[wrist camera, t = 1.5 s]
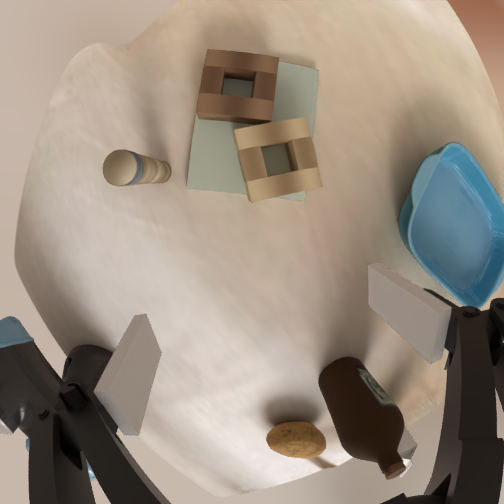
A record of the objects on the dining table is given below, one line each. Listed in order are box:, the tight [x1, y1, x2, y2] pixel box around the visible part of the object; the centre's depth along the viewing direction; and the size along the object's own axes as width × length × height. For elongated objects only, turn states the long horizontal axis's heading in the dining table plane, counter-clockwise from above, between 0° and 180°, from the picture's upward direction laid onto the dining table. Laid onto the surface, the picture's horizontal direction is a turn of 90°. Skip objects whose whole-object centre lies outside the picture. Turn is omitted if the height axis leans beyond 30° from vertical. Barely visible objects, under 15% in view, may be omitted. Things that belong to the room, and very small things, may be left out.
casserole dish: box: [399, 142, 504, 309], centre depth 39 cm, size 37×22×7 cm, turn 59°
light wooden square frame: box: [233, 117, 322, 203], centre depth 33 cm, size 9×9×4 cm
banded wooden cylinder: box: [103, 150, 171, 186], centre depth 27 cm, size 3×3×16 cm
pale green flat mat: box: [187, 61, 319, 202], centre depth 34 cm, size 16×20×1 cm
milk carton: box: [398, 425, 417, 477], centre depth 44 cm, size 7×7×19 cm
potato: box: [266, 421, 326, 458], centre depth 46 cm, size 10×14×8 cm
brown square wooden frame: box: [196, 49, 279, 125], centre depth 30 cm, size 9×9×4 cm
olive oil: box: [319, 357, 406, 480], centre depth 35 cm, size 11×11×25 cm
